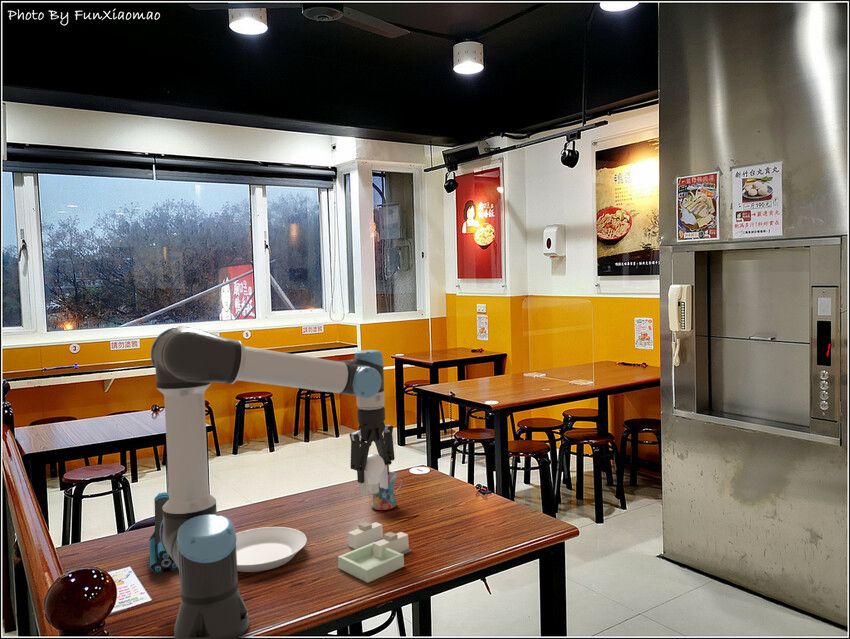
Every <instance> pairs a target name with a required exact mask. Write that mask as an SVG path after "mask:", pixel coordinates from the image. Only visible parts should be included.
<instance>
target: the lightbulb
mask: <svg viewBox="0 0 850 639" xmlns="http://www.w3.org/2000/svg"><path fill="white" fill-rule="evenodd" d="M384 468H385V463H384V460H383V458H382V457H381V456H380V455H379V454H377V453H368V457H367V462H366V467H365V470H366V471H367V472H368V493H370V494H372V495H373V494H376V493H378V492H379V481H380V476H381V475H382V473H383V471H384Z"/></svg>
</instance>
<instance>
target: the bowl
mask: <svg viewBox="0 0 850 639" xmlns="http://www.w3.org/2000/svg"><path fill="white" fill-rule="evenodd" d="M235 533H236V532H235ZM236 538H237V540H236V554H237V572H239V573H241V572H242V573H257V572H264V571H269V570H272V569H276V568H278V567H280V566H283V565H285V564H287V563H288V562H290V561H291V560H292V559H293V558H294V557H295V556H296V554H297V553H298V552H299V551H301V550H302V549H303V547H304V546H306V544H307V541H308V538H307V536H306V534H305V533H304V532H303V531H300V530H298V529H295V528H291V527H285V526H266V527H264V526H263V527H258V528H257V527H256V528H251V529H247V530H244V531H239V532H237V533H236Z"/></svg>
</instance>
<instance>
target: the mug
mask: <svg viewBox="0 0 850 639" xmlns="http://www.w3.org/2000/svg"><path fill="white" fill-rule="evenodd" d="M399 478H401V483H400V485H399V486H398V488H397V489H396V490H394V489H395V483H396V480H397V479H399ZM404 480H405V479H404V477H403V476H401V475H398V474H397V473H396V472H395V471H390V470H389V475H388V488H387V489H385V488H381V487H380V483H379V492H378V493H376V494H372V501H371V504H370V506H371V508H372V509H374V510H378V511H388V510H391V509H394V508H395V507H397V505H398V503H397V501H396V499H395V497H396V496H397V495H396V494H397V493H398V491H400V489H401V487H402V486H403V484H404Z"/></svg>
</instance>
